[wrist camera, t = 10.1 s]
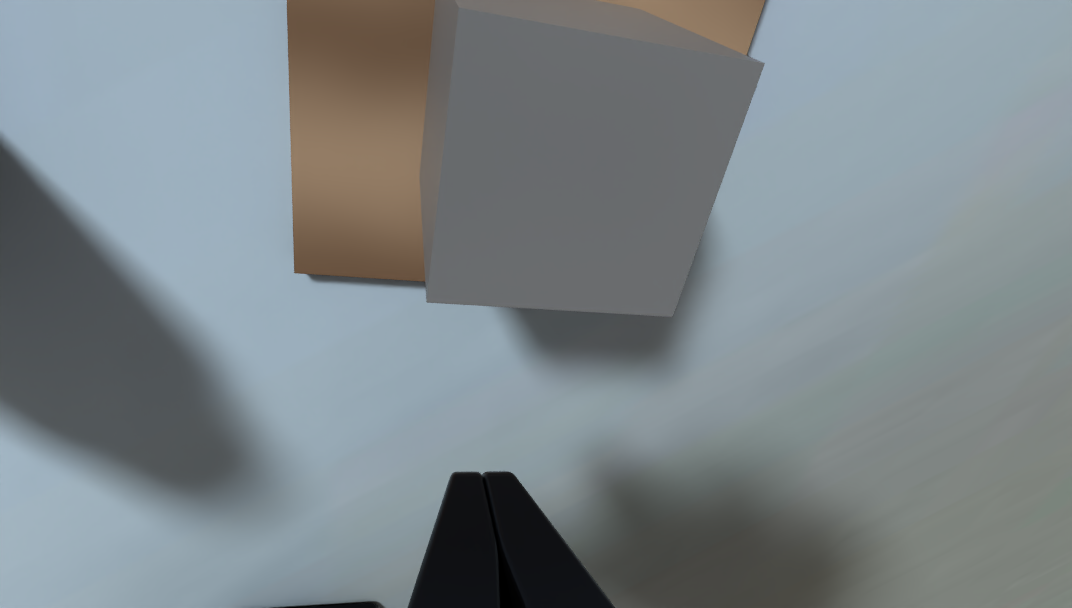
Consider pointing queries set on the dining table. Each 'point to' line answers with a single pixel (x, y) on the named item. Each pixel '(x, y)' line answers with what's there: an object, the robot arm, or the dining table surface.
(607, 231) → the grey rectangular block
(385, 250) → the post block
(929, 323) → the dining table surface
